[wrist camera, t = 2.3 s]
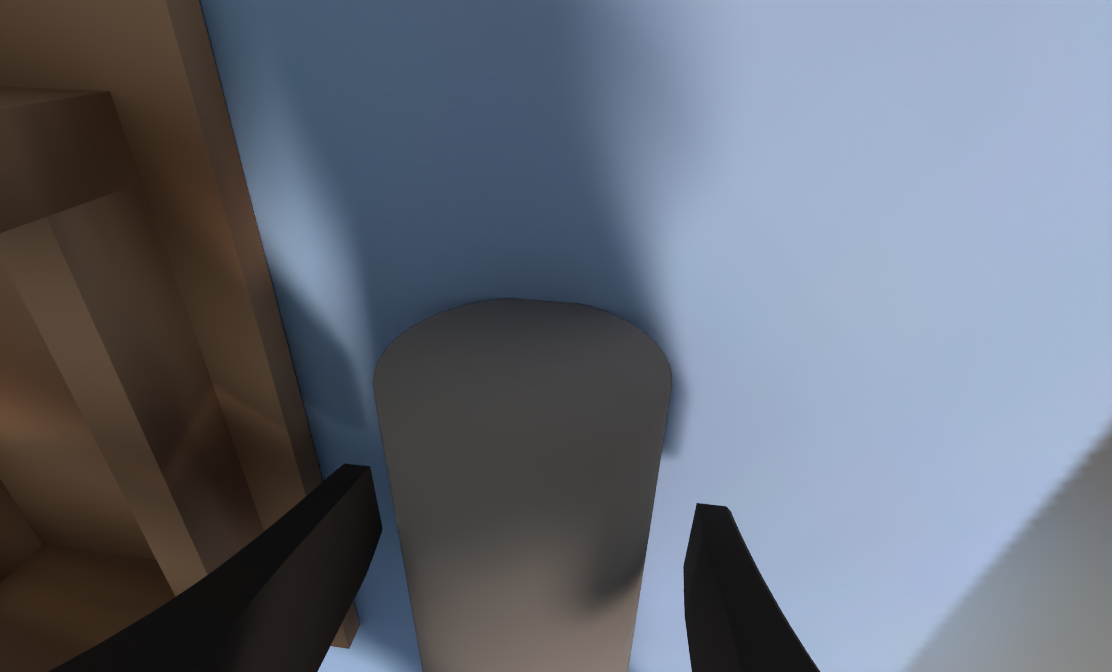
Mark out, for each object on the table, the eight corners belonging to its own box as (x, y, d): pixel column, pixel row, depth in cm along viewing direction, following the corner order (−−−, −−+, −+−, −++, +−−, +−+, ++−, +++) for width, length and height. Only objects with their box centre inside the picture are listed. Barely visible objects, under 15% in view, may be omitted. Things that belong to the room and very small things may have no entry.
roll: (627, 586, 16) (624, 795, 12) (456, 566, 17) (395, 760, 12) (664, 306, 12) (682, 483, 7) (428, 290, 12) (315, 446, 8)
